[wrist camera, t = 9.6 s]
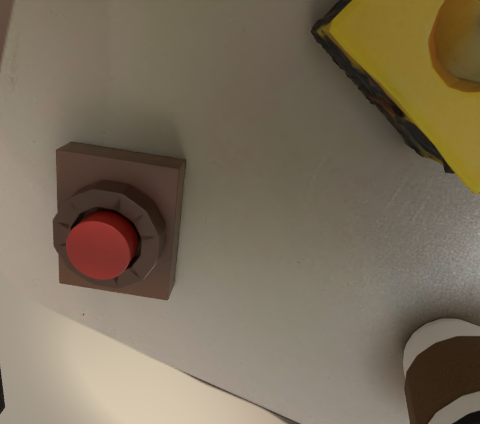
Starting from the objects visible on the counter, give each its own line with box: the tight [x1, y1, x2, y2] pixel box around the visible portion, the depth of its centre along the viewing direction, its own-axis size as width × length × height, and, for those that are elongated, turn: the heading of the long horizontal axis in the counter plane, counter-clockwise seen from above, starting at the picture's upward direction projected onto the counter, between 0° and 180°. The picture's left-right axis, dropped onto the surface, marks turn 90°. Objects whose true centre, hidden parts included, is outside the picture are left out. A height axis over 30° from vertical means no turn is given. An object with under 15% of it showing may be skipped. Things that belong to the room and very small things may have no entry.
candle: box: [311, 0, 480, 194], centre depth 21 cm, size 10×10×10 cm
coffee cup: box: [403, 319, 480, 424], centre depth 28 cm, size 11×11×12 cm
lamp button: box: [66, 211, 138, 279], centre depth 27 cm, size 4×4×2 cm
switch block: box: [53, 142, 186, 300], centre depth 29 cm, size 10×8×4 cm
